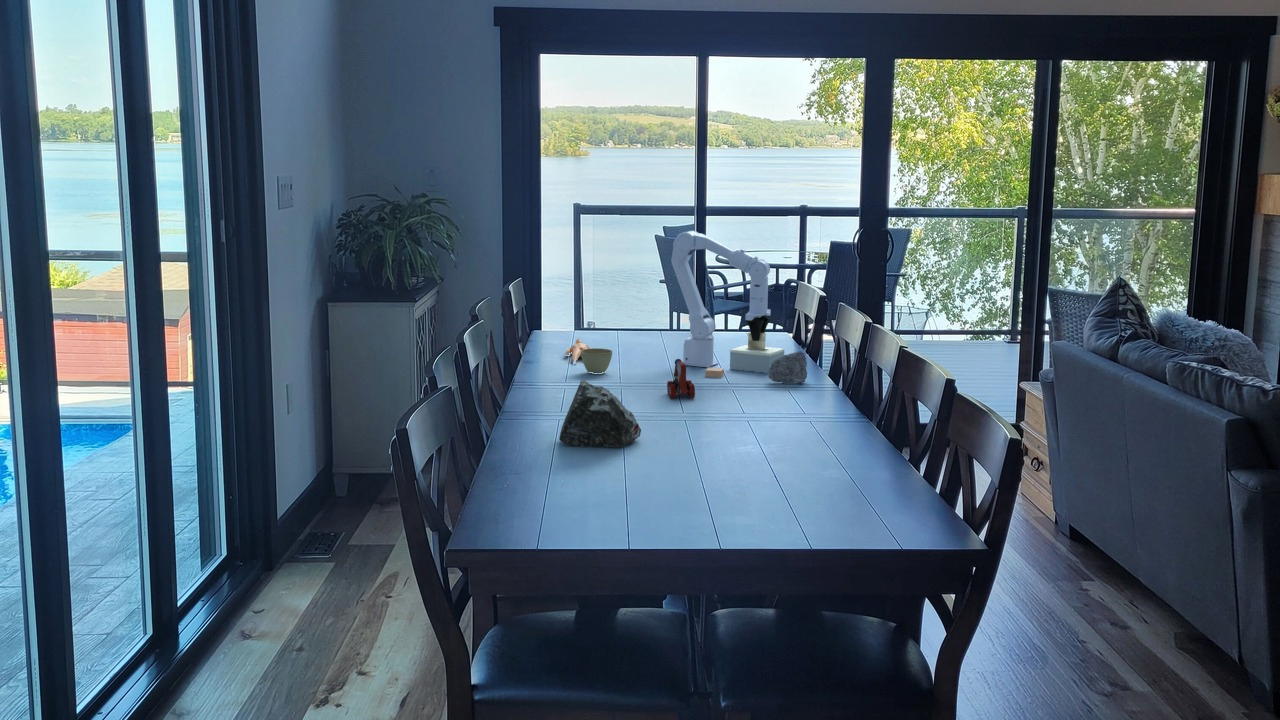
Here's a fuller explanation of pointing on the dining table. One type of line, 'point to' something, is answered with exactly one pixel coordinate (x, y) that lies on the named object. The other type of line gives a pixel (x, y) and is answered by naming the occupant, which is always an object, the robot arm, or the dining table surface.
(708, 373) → the block
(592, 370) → the flower pot
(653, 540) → the dining table surface
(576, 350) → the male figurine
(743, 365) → the box
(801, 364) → the rock
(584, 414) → the stone
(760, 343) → the block
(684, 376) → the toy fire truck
